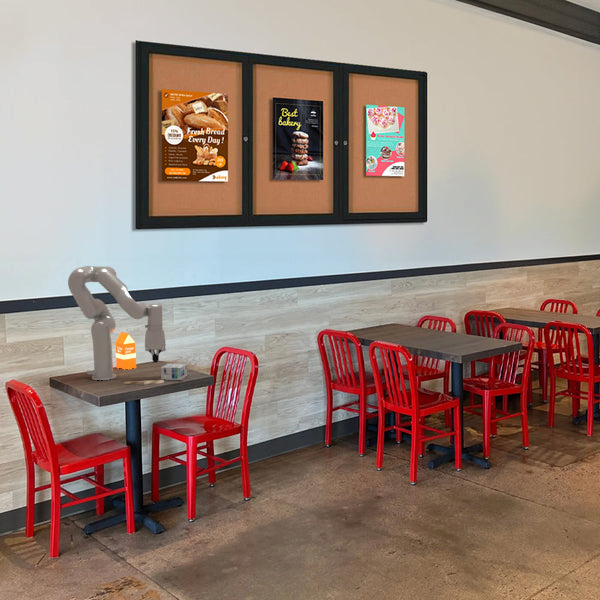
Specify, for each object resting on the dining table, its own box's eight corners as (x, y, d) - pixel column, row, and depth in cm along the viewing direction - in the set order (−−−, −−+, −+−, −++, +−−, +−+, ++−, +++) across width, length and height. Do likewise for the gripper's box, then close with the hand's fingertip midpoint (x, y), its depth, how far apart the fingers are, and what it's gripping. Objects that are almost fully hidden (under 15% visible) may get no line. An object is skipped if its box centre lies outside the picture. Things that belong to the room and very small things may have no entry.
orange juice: (124, 370, 417) (122, 334, 415) (116, 367, 424) (114, 332, 421) (136, 368, 423) (135, 332, 420) (128, 365, 429) (127, 330, 427)
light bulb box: (160, 379, 391) (180, 380, 390) (160, 366, 391) (180, 367, 389) (168, 375, 402) (187, 376, 400) (167, 362, 401) (187, 363, 399)
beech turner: (123, 385, 381) (123, 383, 381) (123, 382, 387) (123, 381, 387) (163, 383, 386) (163, 381, 385) (163, 380, 391) (163, 379, 391)
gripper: (139, 328, 391) (139, 363, 393) (167, 329, 390) (168, 363, 392) (142, 326, 398) (143, 360, 400) (170, 326, 397) (171, 360, 400)
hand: (155, 362), depth 396 cm, fingers closed
